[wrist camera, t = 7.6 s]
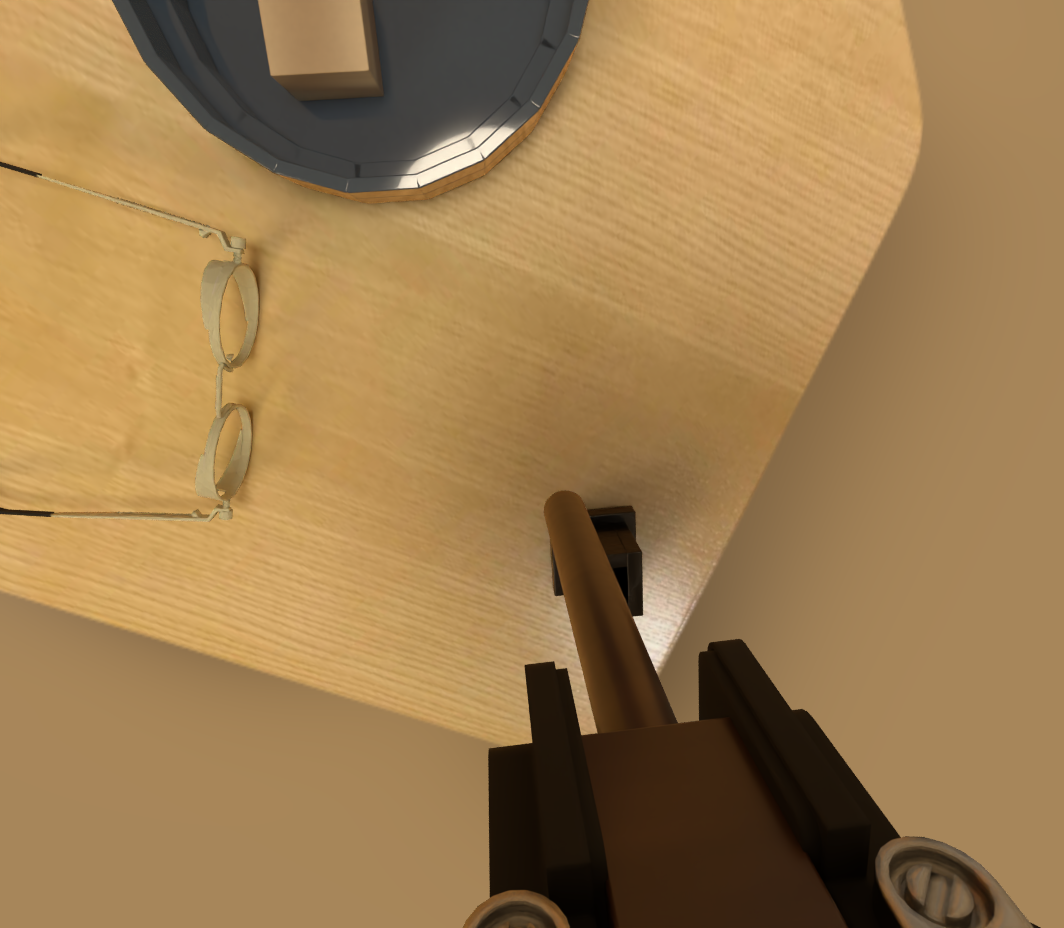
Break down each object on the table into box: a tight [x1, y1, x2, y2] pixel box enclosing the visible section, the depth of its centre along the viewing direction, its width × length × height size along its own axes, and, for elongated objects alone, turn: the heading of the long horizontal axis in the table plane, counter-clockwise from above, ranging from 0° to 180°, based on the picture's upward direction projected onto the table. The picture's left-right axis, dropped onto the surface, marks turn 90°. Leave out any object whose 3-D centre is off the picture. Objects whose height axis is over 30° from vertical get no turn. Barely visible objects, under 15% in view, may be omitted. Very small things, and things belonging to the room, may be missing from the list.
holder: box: [550, 506, 643, 617], centre depth 35 cm, size 5×5×5 cm
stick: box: [544, 491, 849, 928], centre depth 14 cm, size 2×2×16 cm
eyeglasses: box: [0, 162, 259, 522], centre depth 30 cm, size 17×15×5 cm
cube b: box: [258, 0, 384, 101], centre depth 27 cm, size 4×4×4 cm
